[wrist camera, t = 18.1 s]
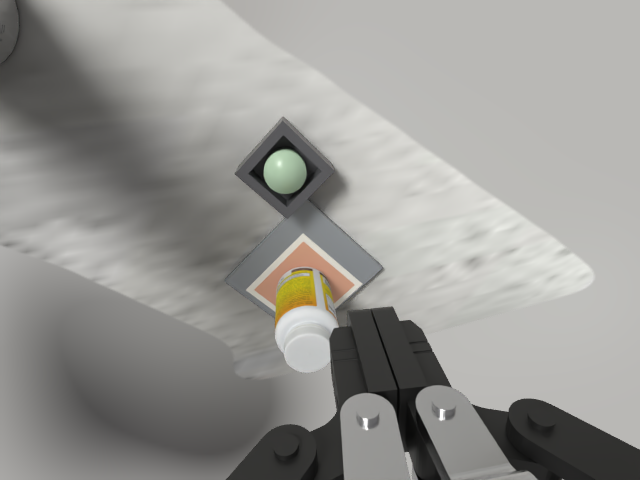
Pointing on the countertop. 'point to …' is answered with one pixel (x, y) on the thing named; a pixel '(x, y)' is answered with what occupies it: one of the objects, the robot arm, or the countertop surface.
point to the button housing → (255, 161)
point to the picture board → (303, 259)
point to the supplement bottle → (304, 319)
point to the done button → (285, 170)
